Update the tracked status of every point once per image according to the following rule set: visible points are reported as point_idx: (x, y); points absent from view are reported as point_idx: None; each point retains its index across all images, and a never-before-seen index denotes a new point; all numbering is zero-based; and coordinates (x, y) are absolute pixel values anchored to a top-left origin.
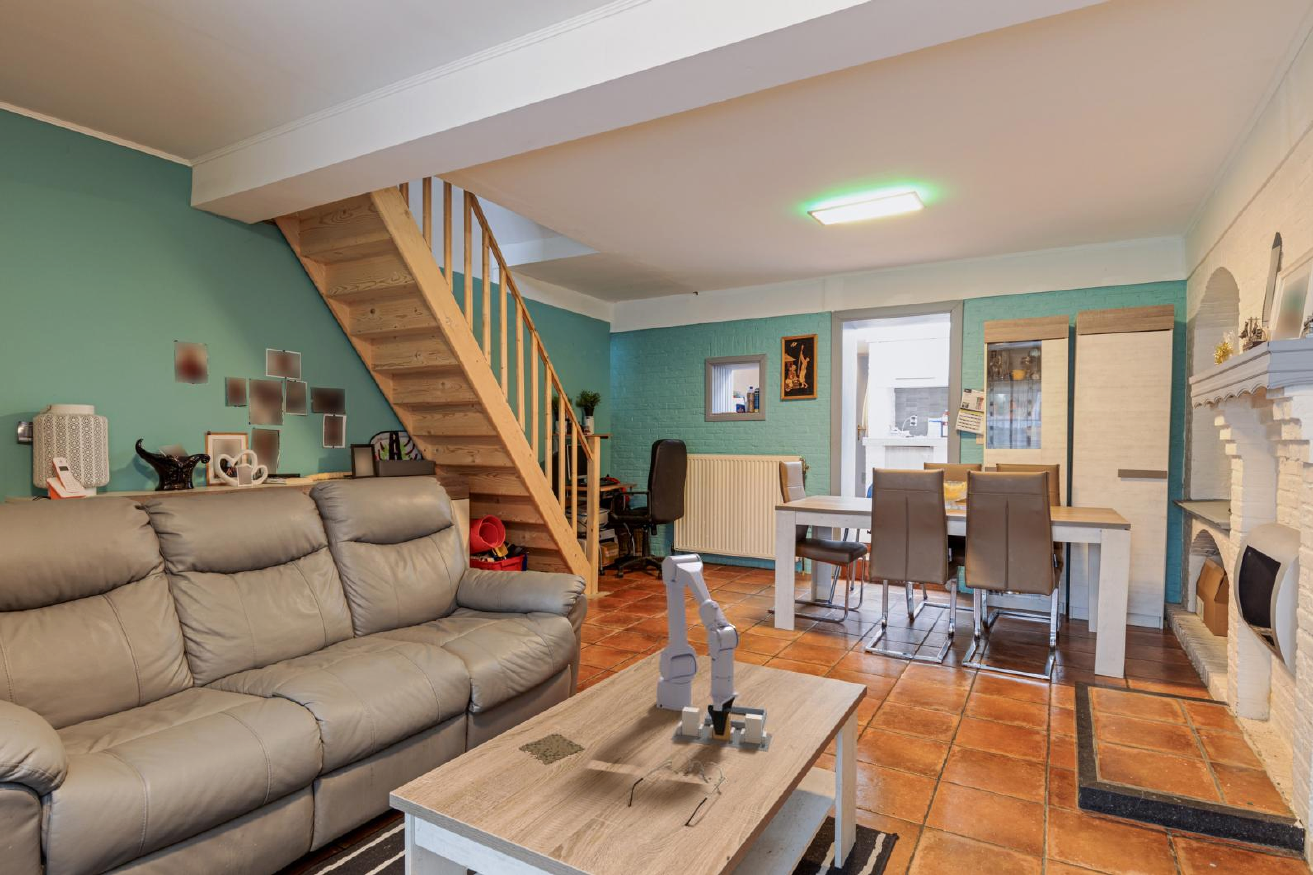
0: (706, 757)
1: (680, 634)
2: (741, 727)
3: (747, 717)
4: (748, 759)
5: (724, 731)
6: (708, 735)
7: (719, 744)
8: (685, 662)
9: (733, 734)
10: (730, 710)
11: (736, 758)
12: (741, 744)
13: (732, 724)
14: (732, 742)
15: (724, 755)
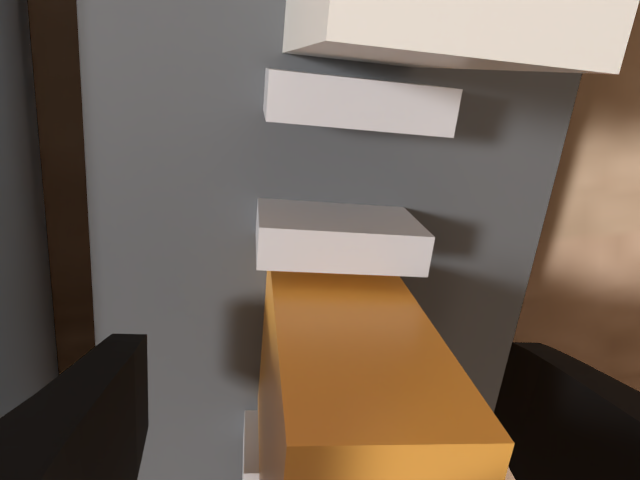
0: None
1: None
2: (3, 130)
3: (603, 4)
4: (637, 21)
5: (581, 362)
6: None
7: (491, 328)
8: None
9: (405, 226)
10: (68, 435)
11: (612, 143)
12: (485, 108)
13: (3, 257)
14: (440, 211)
15: (555, 251)
